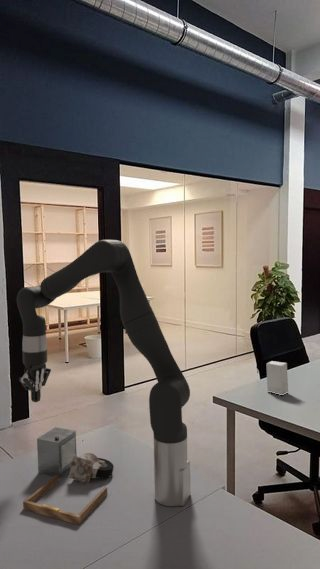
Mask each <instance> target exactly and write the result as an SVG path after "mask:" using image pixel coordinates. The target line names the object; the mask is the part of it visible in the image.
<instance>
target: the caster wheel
mask: <svg viewBox="0 0 320 569" xmlns="http://www.w3.org/2000/svg"><path fill="white" fill-rule="evenodd" d="M113 473H114V464H113V463H112V461H110V460H107V459H105V458H101V457H98V456H97V455H95V454H94V453H91V452H90V453H89V452H88V453H84V454H82V455H80V456H73V460H72V465H71V469H70V470H69V474H68V479H72V480H74V481H77V482H80V483H83V484H86V485H89V484H90V481H91V478H92V479H97V478H98V479H107V478H110V477H112V475H113Z"/></svg>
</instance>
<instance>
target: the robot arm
mask: <svg viewBox="0 0 320 569" xmlns="http://www.w3.org/2000/svg"><path fill="white" fill-rule="evenodd" d="M101 273H111V276H112V277H113V280H114V282H115V284H116V286H117V289H118V294H119V314H120V315H119V316H120V319H121V322H122V325H123V327H124V330H125V332H126V335H127V337H128V339H129V340H130V342H131V344H132V345H133V346H134V347H135V349H136V350H137V351H138V352H139V353H140V354H141V355H142V356H143V357H144V358H145V359H146V360H147V361H148V363H149V364H150V365H149V366H150V367H151V368H152V371H153V372H154V376H155V377H156V381H157V382H156V383H155V384H154V385H153V386H152V387H151V389H150V391H149V396H148V397H149V398H148V405H149V422H150V427H151V429H152V433H153V466H154V467H153V473H154V474H153V475H154V482H153V483H154V498H155V500H156V502H157V503H158V504H160V505H162V506H165V507H178V506H180V507H184V506H185V504H186V502H187V501H188V499H189V497H190V495H191V461H190V460H188V428H187V425H186V424H185V423H184V422H183V414H182V412H183V411H182V409H183V407H184V406H185V405H187V403H188V402H189V399H190V396H191V389H190V386H189V383H188V381H187V379H186V377H185V375H184V374H183V372H182V370H181V369H180V366H179V364H178V363H177V361H176V360H175V358H174V356H173V354H172V351H171V350H170V347H169V344H168V342H167V340H166V338H165V336H164V333H163V331H162V329H161V327H160V324H159V321H158V320H157V317H156V314H155V313H154V310H153V308H152V307H151V304H150V302H149V300H148V296H147V295H146V293H145V290H144V287H143V286H142V284H141V280H140V279H139V276H138V272H137V269H136V267H135V263H134V260H133V256H132V254H131V252H130V250H129V247H128V246H127V244H125V243H124V241H123V242H122V241H121V240H117V239H101V240H98V241H96V242H95V243H93V244H92V245H91V246H90V247H88V249H86V250H85V251H84V252H83V253H81V254H80V255H79V256H78V257H77V258H75V259H74V260H73V261H71V262H70V263H69V264H67V265H66V266H64V267H62V268H61V269H59V270H57V271H55V272H54V273H52V274H50V275H48V276H47V277H45V278H44V279H43V280H42V281H41V282H40V285H37V286H27V287H26V286H25V287H22V288H21V289H20V290H18V293H17V296H16V304H17V308H18V312H19V315H20V318H21V321H22V364H23V365H24V370H23V371H24V372H23V373H24V374H23V375H22V376H20V377H19V378H18V381H19V382H20V384H21V385H22V386H23V388H24V389H25V391H30V396H31V397H30V398H31V402H33V403H38V402H40V401H41V395H42V394H41V390H42V388H43V387H45V386H46V384H47V382H48V379H49V376H50V374H51V371H52V369H51V368H48V367H47V365H46V363H47V362H48V341H47V340H48V338H47V328H46V326H47V325H46V324H47V322H46V318H45V317H44V316H43V315H38V313H37V311H36V309H40V308H44V307H47V306H48V305H50V304H51V303H53V302H54V301H55V300H56V299H57V298H59V297H61V296H63V295H65V294H67V293H69V292H71V291H72V290H73V289H74V288H75V287H77V286H79V284H80V283H81V282H82V281H83V280H85V279H87V278H88V277H91V276H95V275H99V274H101Z"/></svg>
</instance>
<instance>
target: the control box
mask: <svg viewBox="0 0 320 569" xmlns="http://www.w3.org/2000/svg"><path fill="white" fill-rule="evenodd" d="M36 446H37V472H38V474H40V475H45V476H49V477H52V478H53V477H54V476H58V479H61V478H62V477H63V476H64V475H65V474H66V473H68V472H70V469H71V465H72V460H73V456H77V432H76V430H73V429H67V428H63V427H58V426H55V427H53V428H52V429H50V430H49V431H47V432H45V433H44V434H41V436H39V437H38V438H36ZM77 457H78V456H77Z"/></svg>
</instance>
